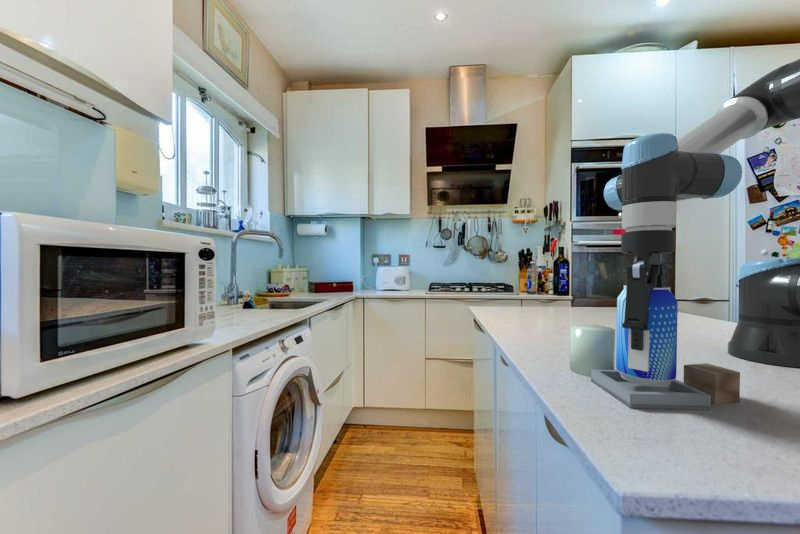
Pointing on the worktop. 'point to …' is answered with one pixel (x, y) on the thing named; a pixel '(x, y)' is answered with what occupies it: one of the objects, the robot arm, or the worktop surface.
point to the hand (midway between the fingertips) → (645, 363)
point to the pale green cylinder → (591, 348)
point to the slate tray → (651, 393)
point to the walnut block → (714, 382)
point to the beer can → (651, 340)
